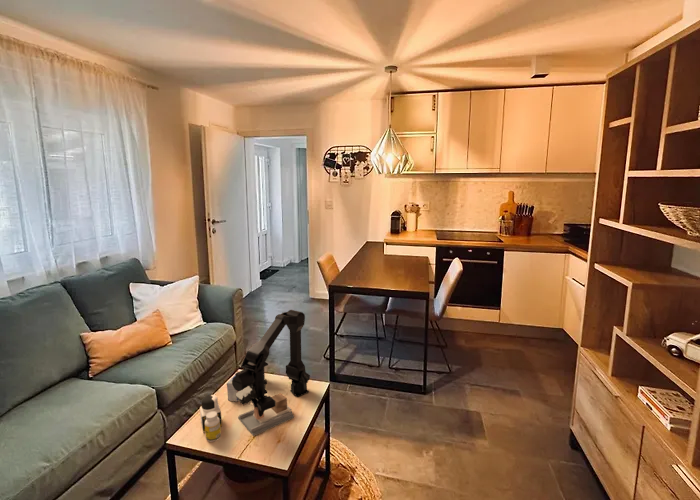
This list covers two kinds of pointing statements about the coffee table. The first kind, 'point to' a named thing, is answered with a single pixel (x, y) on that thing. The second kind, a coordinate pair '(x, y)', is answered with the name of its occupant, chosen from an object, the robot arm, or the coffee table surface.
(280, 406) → the walnut block
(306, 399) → the coffee table surface
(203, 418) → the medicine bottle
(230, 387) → the medicine box
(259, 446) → the coffee table surface
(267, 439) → the coffee table surface
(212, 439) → the supplement bottle
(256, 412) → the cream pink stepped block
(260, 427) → the lane board
